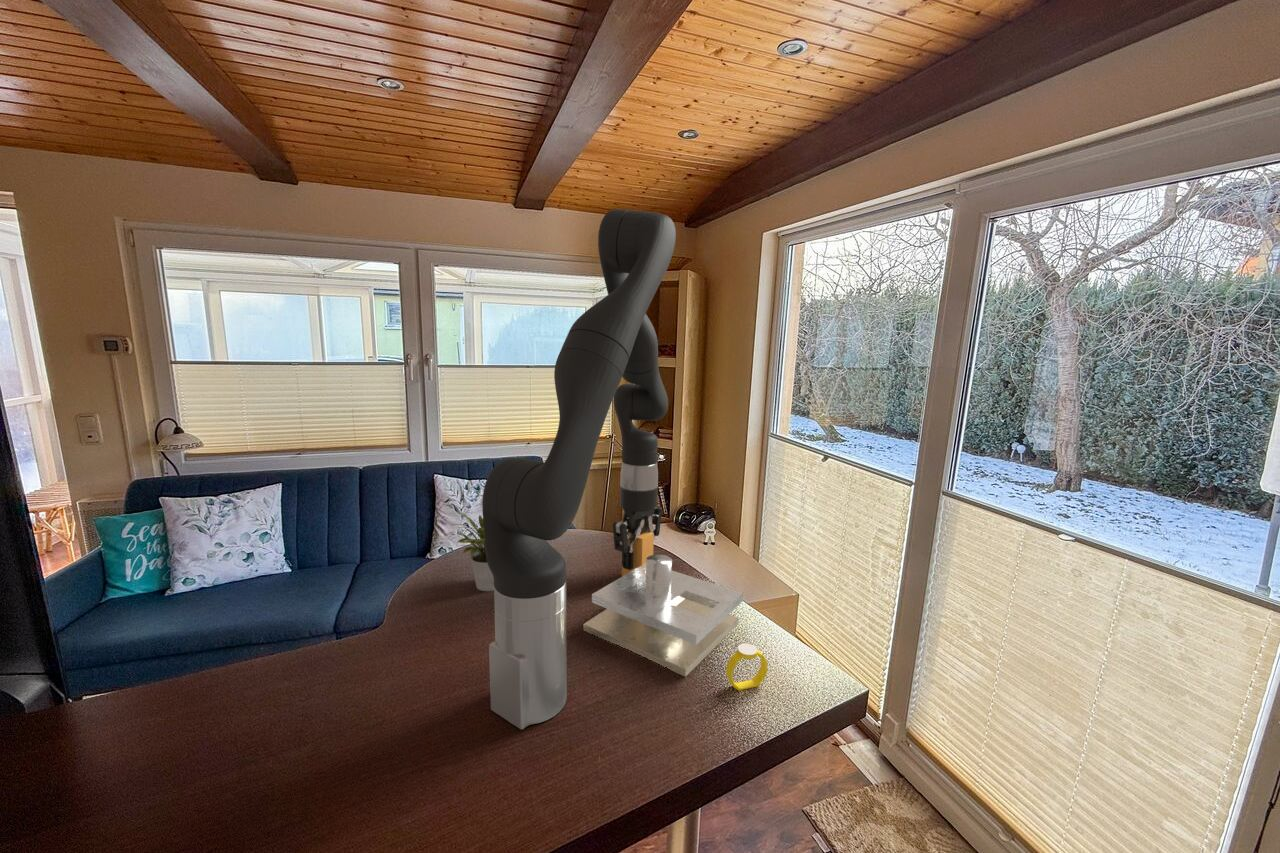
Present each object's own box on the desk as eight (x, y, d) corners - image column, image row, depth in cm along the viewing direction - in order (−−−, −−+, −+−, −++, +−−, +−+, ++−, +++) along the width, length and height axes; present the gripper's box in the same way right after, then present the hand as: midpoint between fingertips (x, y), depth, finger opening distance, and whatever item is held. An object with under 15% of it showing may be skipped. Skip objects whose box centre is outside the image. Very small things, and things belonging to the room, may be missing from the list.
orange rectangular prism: (641, 586, 103) (642, 539, 101) (621, 579, 105) (622, 533, 104) (652, 579, 106) (653, 533, 104) (633, 572, 109) (634, 527, 107)
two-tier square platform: (691, 679, 74) (694, 602, 72) (583, 630, 86) (583, 563, 84) (743, 625, 89) (747, 560, 87) (644, 590, 101) (645, 532, 99)
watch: (732, 698, 71) (732, 659, 70) (723, 685, 74) (722, 648, 73) (770, 687, 73) (770, 649, 72) (760, 675, 76) (759, 638, 74)
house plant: (446, 574, 106) (443, 498, 103) (513, 563, 112) (512, 491, 109) (452, 606, 93) (449, 520, 91) (528, 592, 99) (527, 511, 96)
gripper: (632, 495, 94) (631, 581, 97) (674, 479, 106) (671, 556, 109) (601, 488, 99) (600, 570, 101) (644, 473, 110) (642, 547, 113)
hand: (637, 562), depth 105 cm, fingers open, 6 cm apart
